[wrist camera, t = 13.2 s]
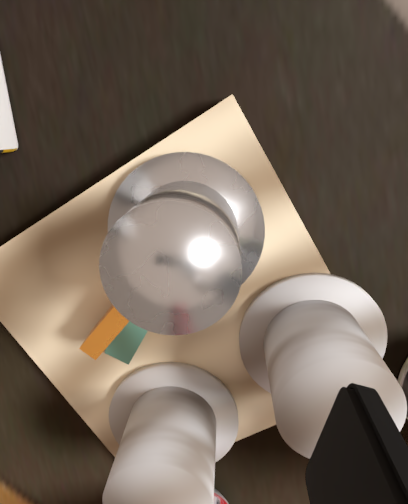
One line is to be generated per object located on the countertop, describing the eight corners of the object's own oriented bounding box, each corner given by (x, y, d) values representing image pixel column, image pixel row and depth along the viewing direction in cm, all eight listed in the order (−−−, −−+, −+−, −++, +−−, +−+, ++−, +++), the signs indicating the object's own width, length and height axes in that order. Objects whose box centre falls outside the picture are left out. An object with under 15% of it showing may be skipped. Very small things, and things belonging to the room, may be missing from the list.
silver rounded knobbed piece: (173, 115, 20) (148, 109, 13) (296, 222, 21) (325, 261, 15) (43, 291, 24) (-24, 349, 17) (155, 371, 25) (131, 452, 19)
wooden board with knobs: (398, 355, 26) (477, 460, 18) (146, 465, 30) (116, 588, 22) (255, 82, 21) (272, 52, 13) (-21, 262, 25) (-137, 325, 17)
